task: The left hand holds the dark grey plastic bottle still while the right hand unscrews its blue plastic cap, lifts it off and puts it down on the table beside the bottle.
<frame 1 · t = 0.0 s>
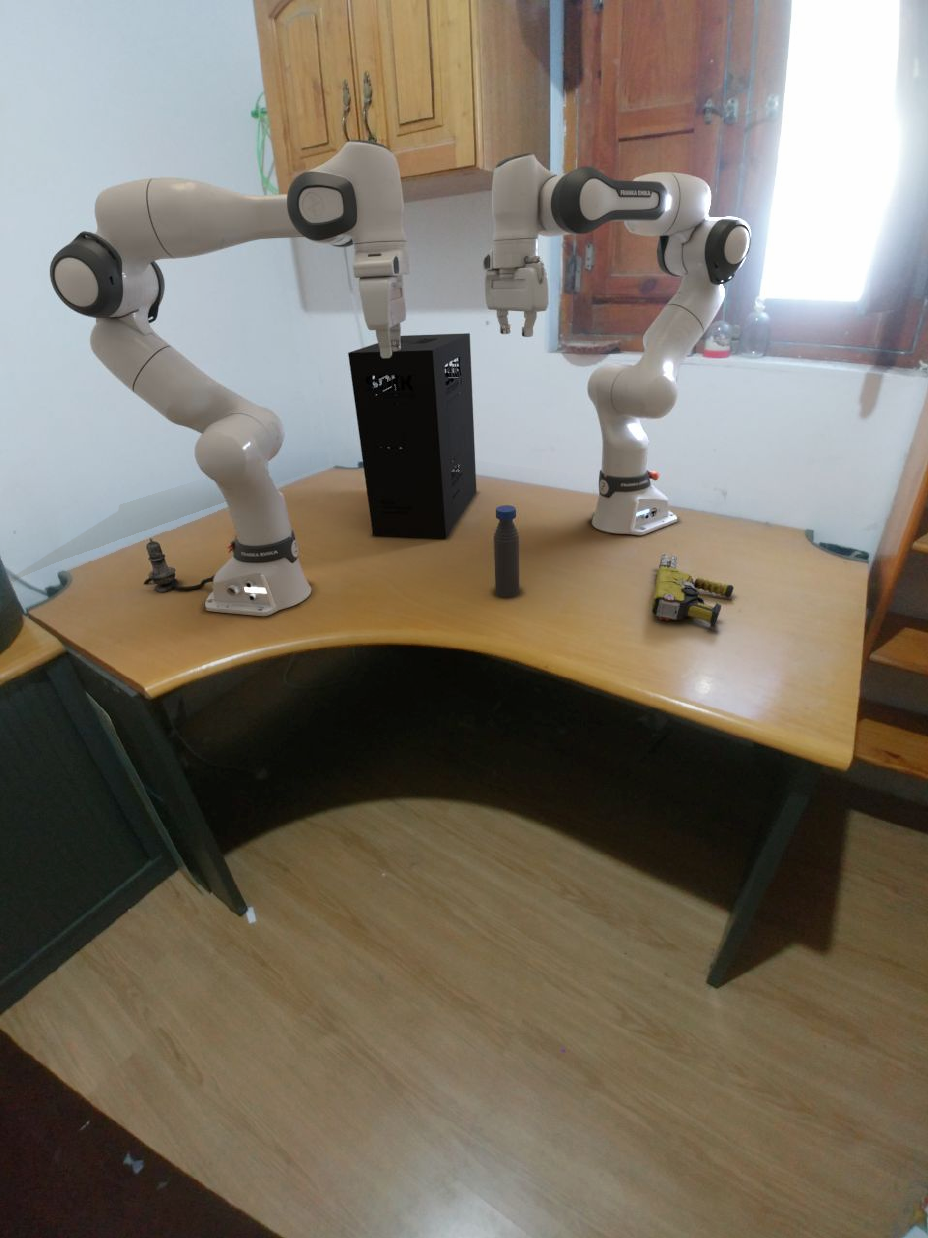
left hand: (391, 354, 107), 48 cm above the table, tool pointing down, fingers open, 8 cm apart
right hand: (516, 335, 125), 48 cm above the table, tool pointing down, fingers open, 8 cm apart
bottle: (507, 592, 129), on the table
black boxy piece: (428, 512, 175), on the table
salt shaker: (166, 587, 140), on the table
toy gun: (692, 599, 122), on the table
cap: (505, 510, 120), point 18 cm above the table, screwed on, not yet turned
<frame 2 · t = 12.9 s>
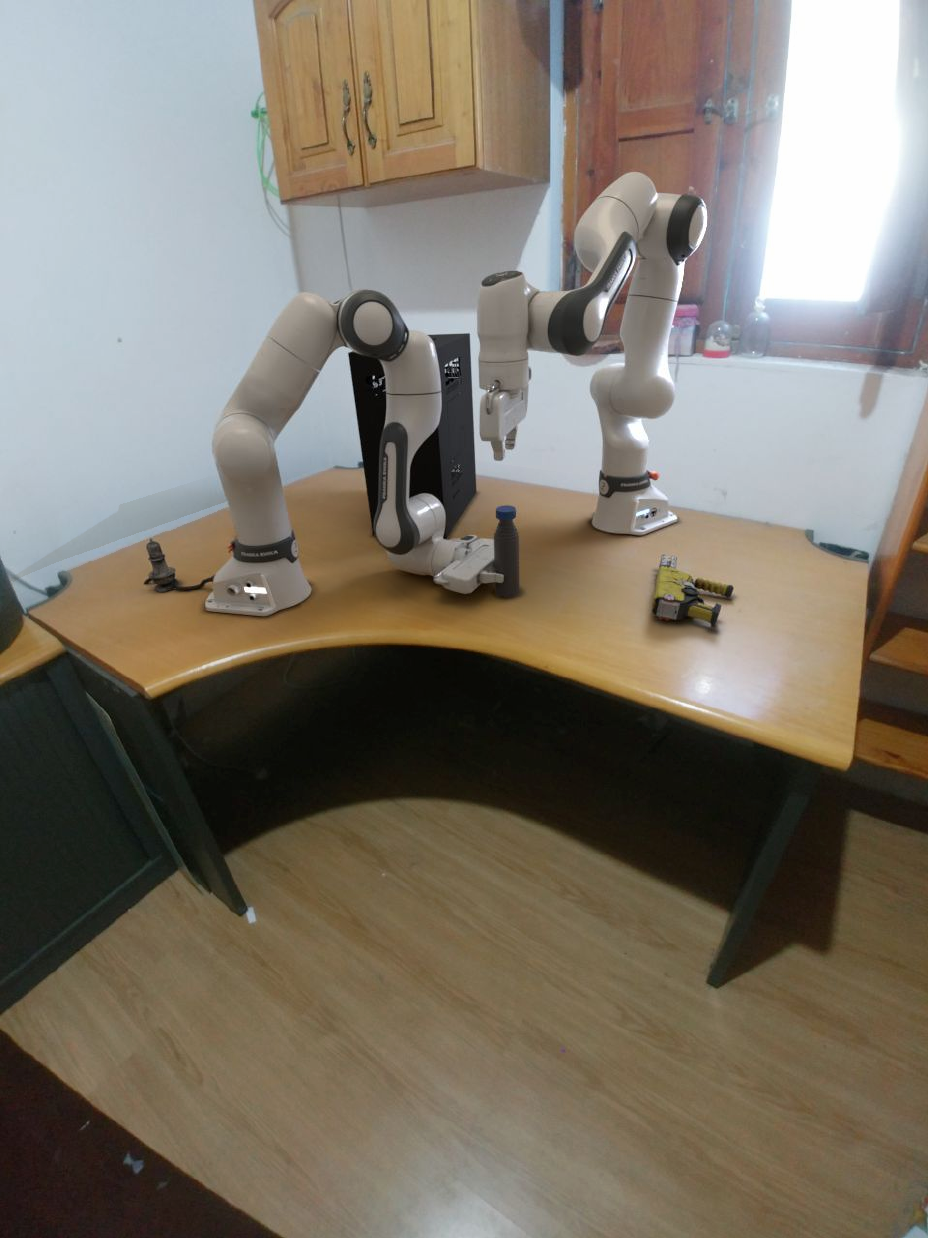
left hand: (510, 571, 126), 5 cm above the table, tool horizontal, fingers closed on bottle, 5 cm apart
right hand: (505, 454, 114), 30 cm above the table, tool pointing down, fingers open, 6 cm apart
bottle: (507, 592, 129), on the table, touching left hand
everything else where it was.
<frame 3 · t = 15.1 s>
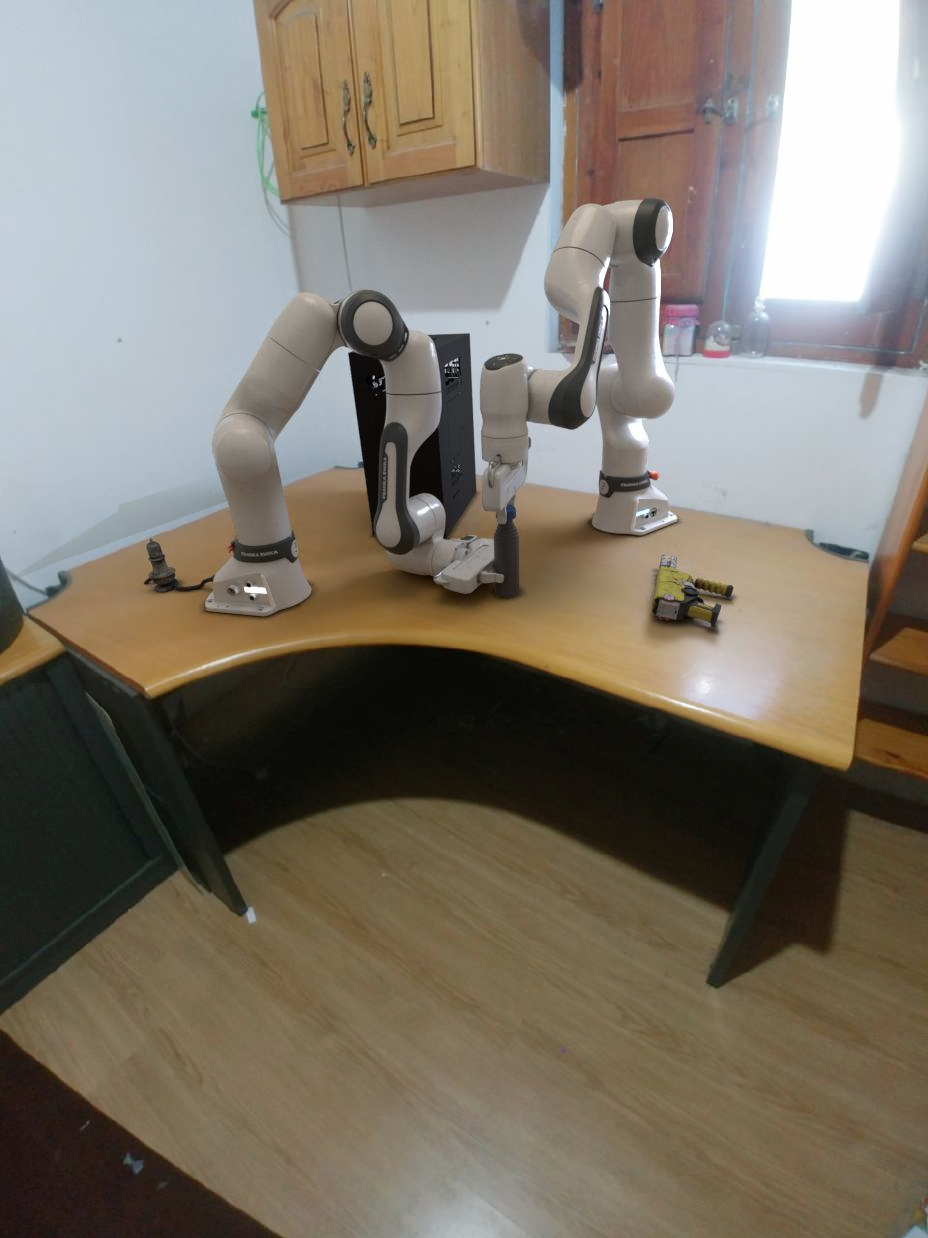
left hand: (510, 571, 126), 5 cm above the table, tool horizontal, fingers closed on bottle, 5 cm apart
right hand: (506, 517, 121), 17 cm above the table, tool pointing down, fingers closed on cap, 4 cm apart
bottle: (507, 592, 129), on the table, touching left hand
cap: (505, 510, 120), point 18 cm above the table, screwed on, not yet turned, touching right hand
everything else where it was.
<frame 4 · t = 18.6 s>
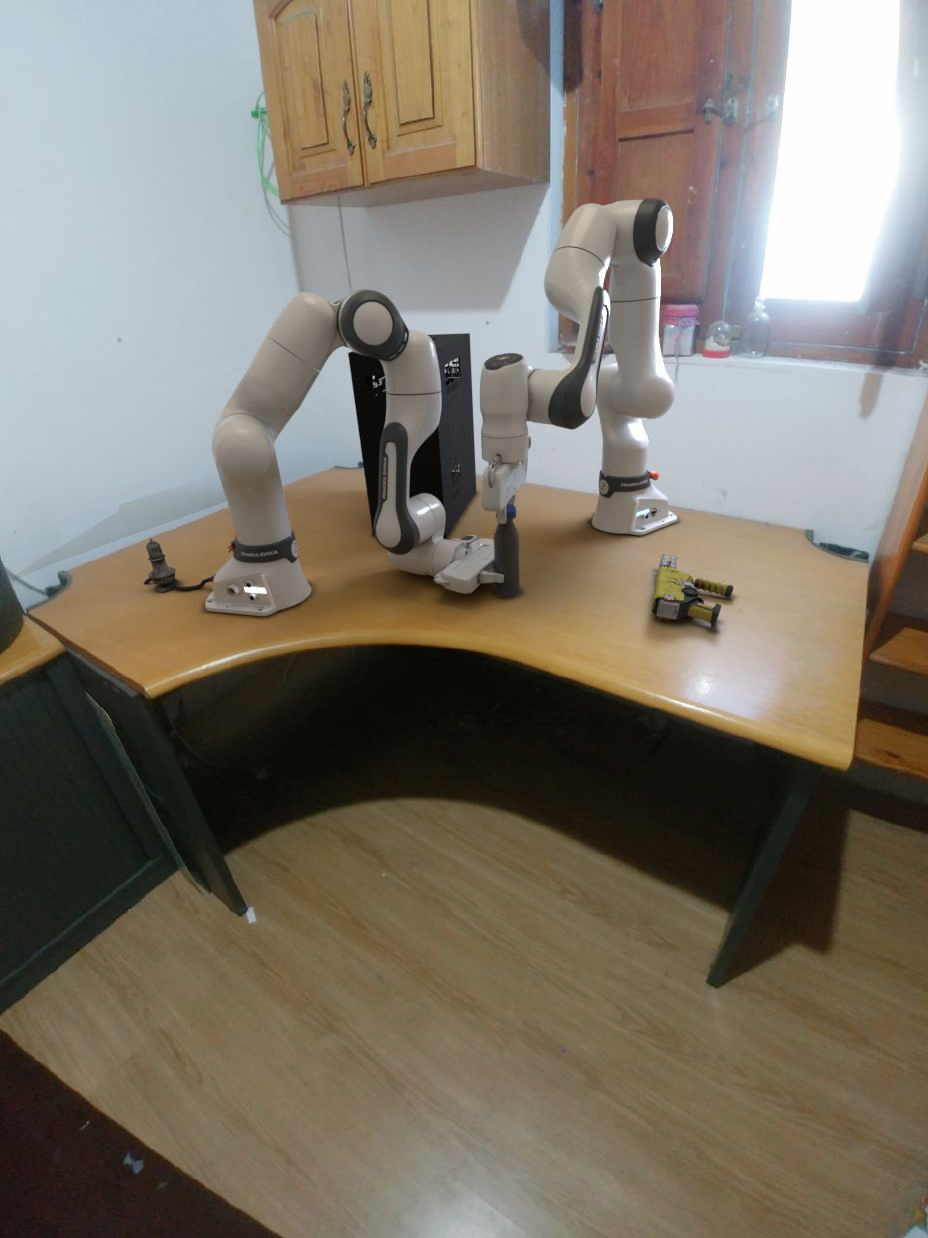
left hand: (511, 571, 126), 5 cm above the table, tool horizontal, fingers closed on bottle, 5 cm apart
right hand: (506, 517, 121), 17 cm above the table, tool pointing down, fingers closed on cap, 4 cm apart
bottle: (507, 592, 129), on the table, touching left hand
cap: (505, 509, 120), point 19 cm above the table, turned 97° so far, risen 0.1 cm, still on its thread, touching right hand
everything else where it was.
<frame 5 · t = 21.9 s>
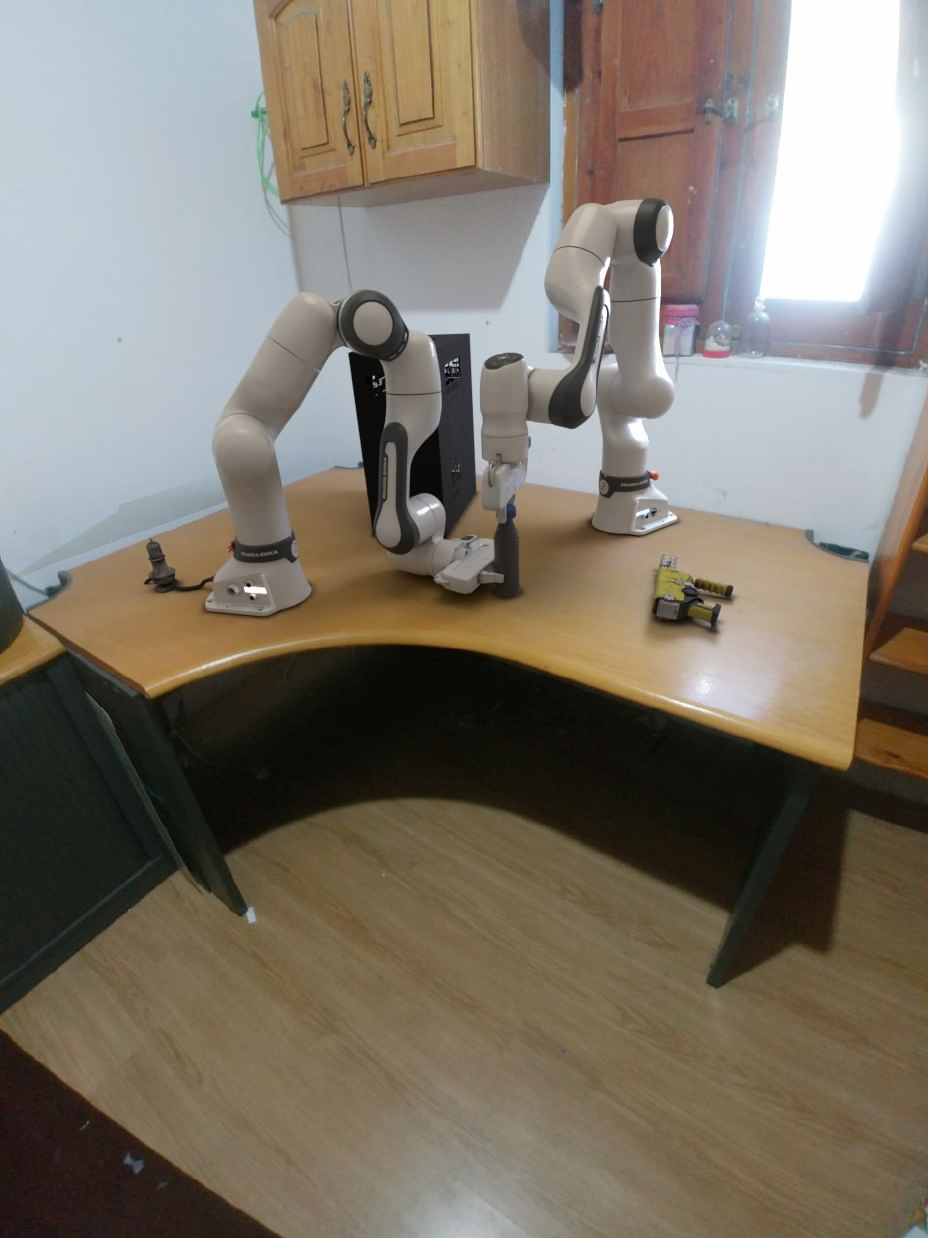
left hand: (511, 571, 126), 5 cm above the table, tool horizontal, fingers closed on bottle, 5 cm apart
right hand: (505, 517, 121), 17 cm above the table, tool pointing down, fingers closed on cap, 4 cm apart
bottle: (507, 592, 129), on the table, touching left hand
cap: (505, 509, 120), point 19 cm above the table, turned 193° so far, risen 0.2 cm, still on its thread, touching right hand
everything else where it was.
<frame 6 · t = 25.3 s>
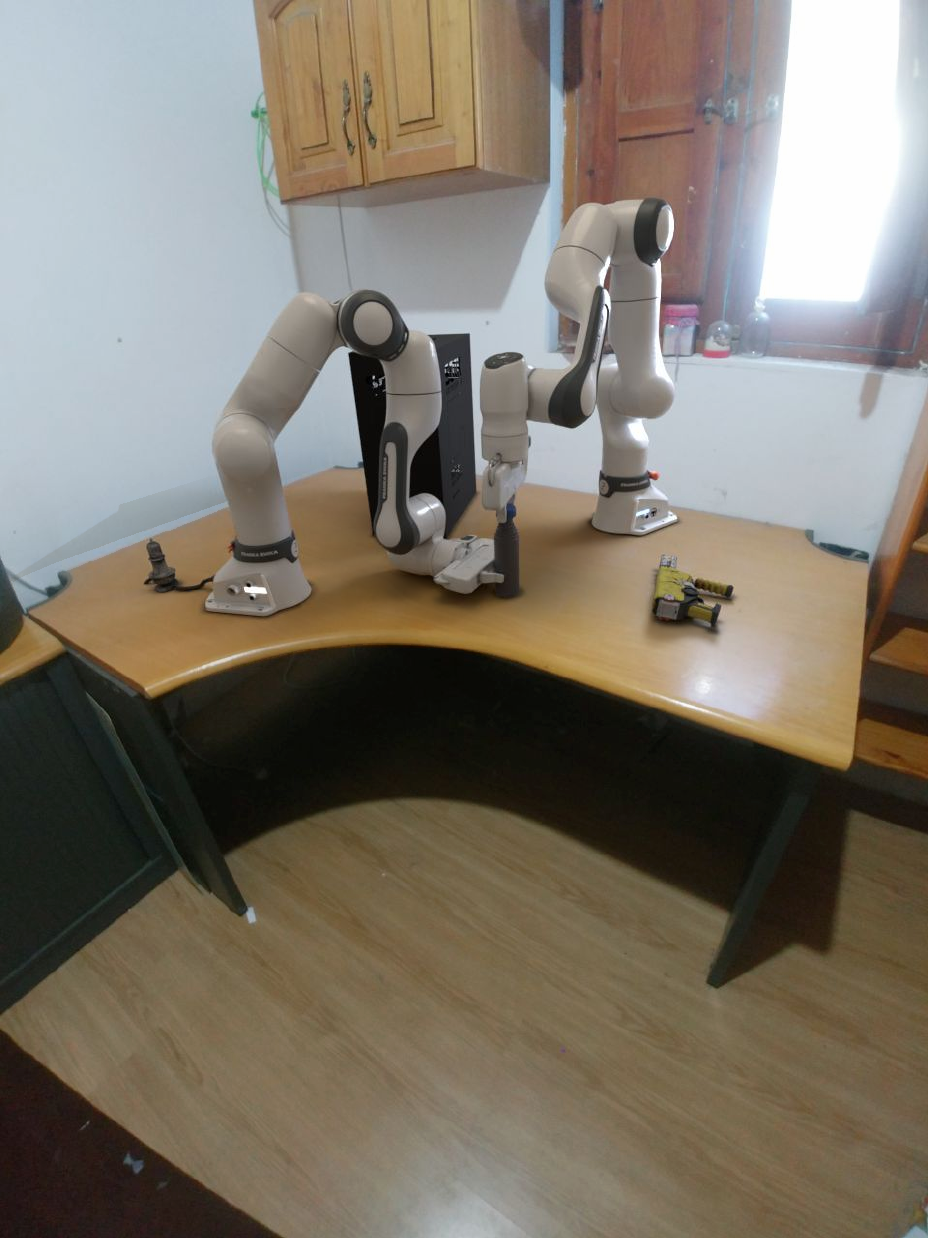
left hand: (511, 571, 126), 5 cm above the table, tool horizontal, fingers closed on bottle, 5 cm apart
right hand: (505, 516, 121), 17 cm above the table, tool pointing down, fingers closed on cap, 4 cm apart
bottle: (507, 592, 129), on the table, touching left hand
cap: (505, 508, 120), point 19 cm above the table, turned 289° so far, risen 0.3 cm, still on its thread, touching right hand
everything else where it was.
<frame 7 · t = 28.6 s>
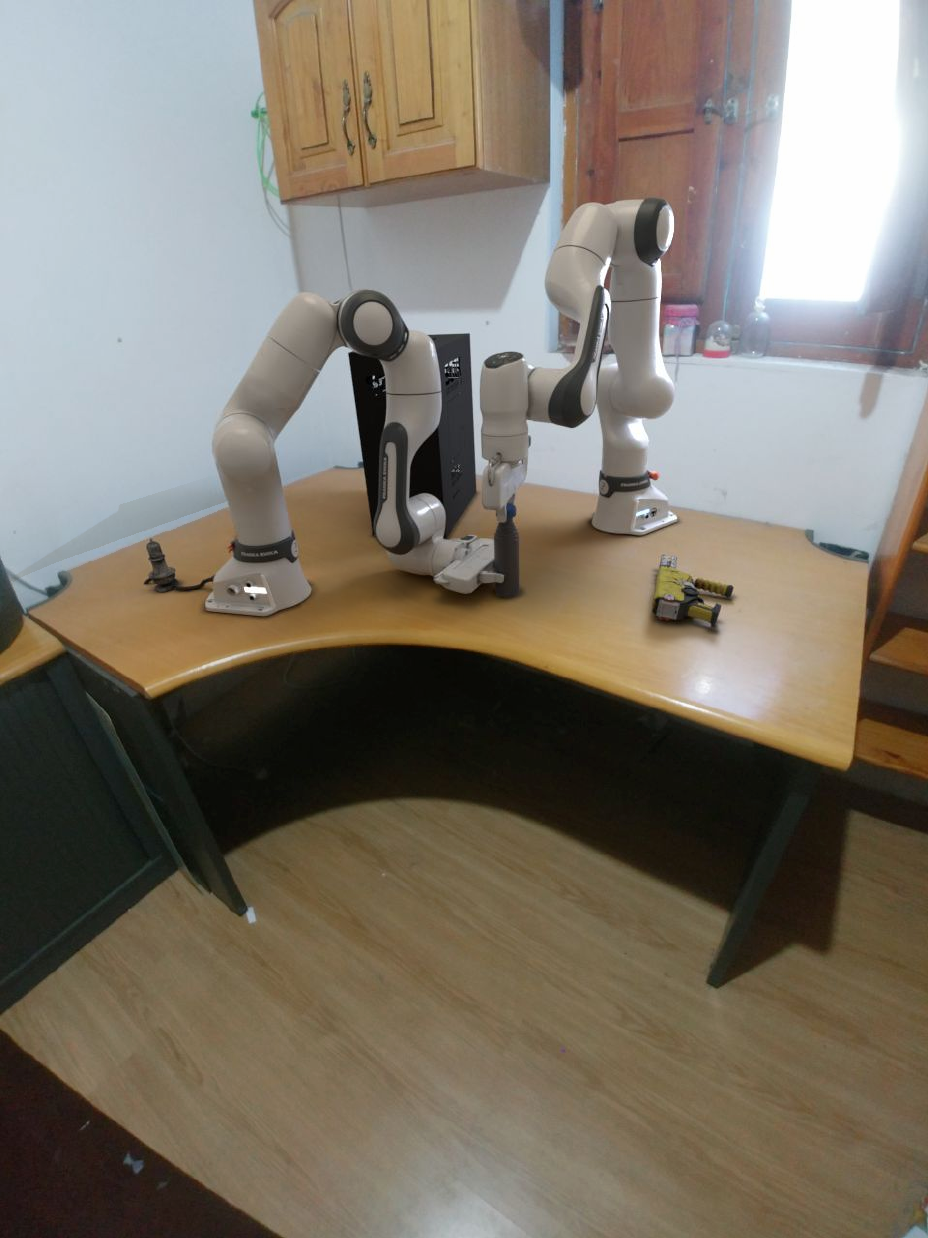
left hand: (511, 571, 126), 5 cm above the table, tool horizontal, fingers closed on bottle, 5 cm apart
right hand: (505, 516, 121), 17 cm above the table, tool pointing down, fingers closed on cap, 4 cm apart
bottle: (507, 592, 129), on the table, touching left hand
cap: (505, 508, 120), point 19 cm above the table, turned 386° so far, risen 0.3 cm, still on its thread, touching right hand
everything else where it was.
when the right hand's fingers open (2 cm above the table, at t = 34.9 s): cap drops 2 cm, point 1 cm above the table.
when the left hand's fingers open (5 cm above the table, at t = 36.1 s): bottle stays where it is, on the table.
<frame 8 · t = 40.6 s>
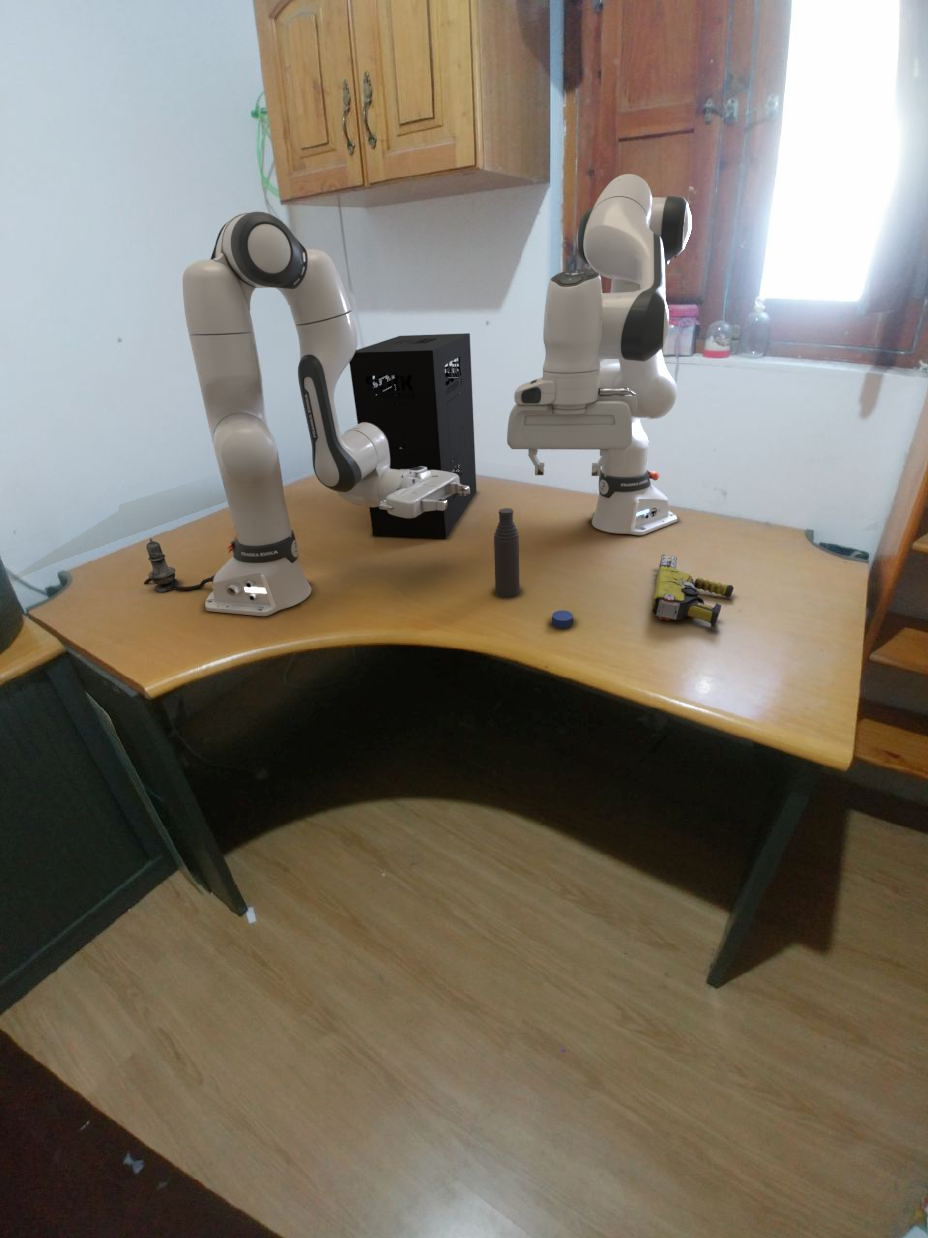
left hand: (457, 498, 124), 20 cm above the table, tool horizontal, fingers open, 8 cm apart
right hand: (567, 474, 102), 29 cm above the table, tool pointing down, fingers open, 8 cm apart
bottle: (507, 592, 129), on the table
cap: (562, 616, 116), point 1 cm above the table, off its thread
everything else where it was.
at the end: cap came off its thread; cap point 1.5 cm above the table; the left hand is holding nothing; the right hand is holding nothing; bottle tilted 0°; bottle moved 0.0 cm from its start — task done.
